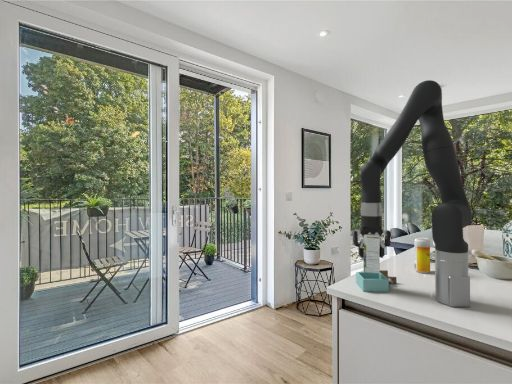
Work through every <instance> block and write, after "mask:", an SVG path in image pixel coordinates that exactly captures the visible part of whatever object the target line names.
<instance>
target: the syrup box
mask: <svg viewBox="0 0 512 384" xmlns="http://www.w3.org/2000/svg"><path fill="white" fill-rule="evenodd" d="M380 238H381V236H380V235H375V234H371V235H367V234H365V235H364V246H363V248H364V257H363V258H362V259H363V267H362V269H363V272H367V273H380V266H381V265H380V262H381V261H380Z"/></svg>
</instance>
